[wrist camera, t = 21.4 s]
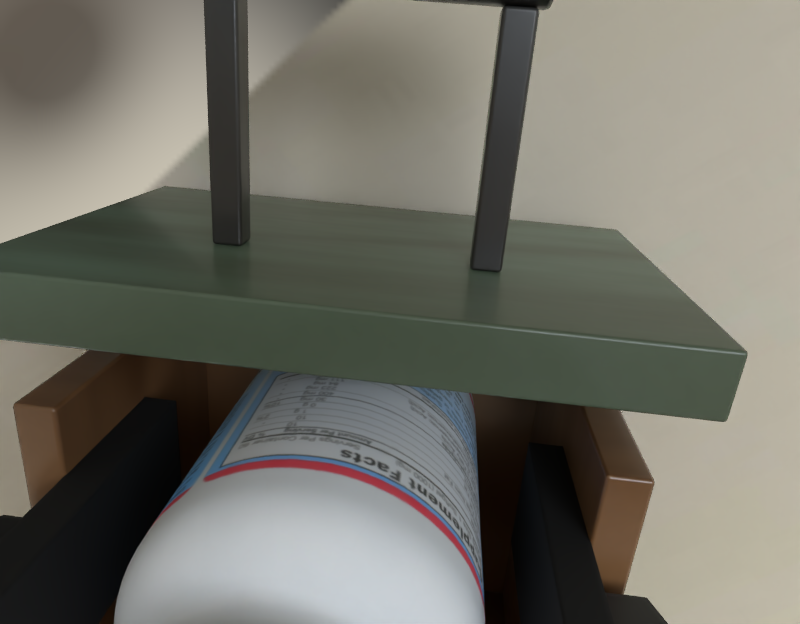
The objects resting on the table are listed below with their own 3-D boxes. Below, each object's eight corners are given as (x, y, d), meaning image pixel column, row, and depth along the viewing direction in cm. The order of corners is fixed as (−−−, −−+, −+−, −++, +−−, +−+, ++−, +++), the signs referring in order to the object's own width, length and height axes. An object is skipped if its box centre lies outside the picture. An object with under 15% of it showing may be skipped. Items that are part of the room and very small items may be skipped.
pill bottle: (354, 521, 19) (220, 1075, 8) (221, 377, 17) (-140, 823, 7) (518, 426, 17) (612, 973, 7) (386, 258, 16) (235, 610, 5)
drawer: (147, -60, 14) (-167, -205, 7) (672, -23, 14) (907, -142, 6) (186, 542, 21) (43, 783, 14) (541, 589, 20) (586, 869, 13)
